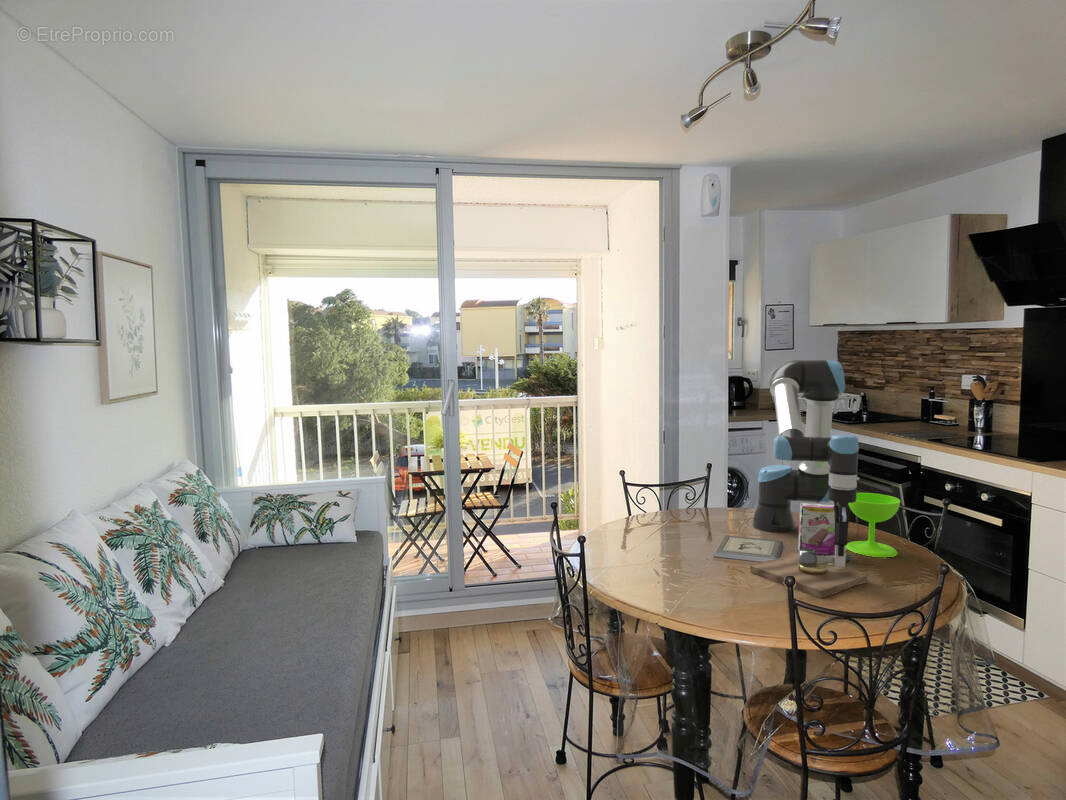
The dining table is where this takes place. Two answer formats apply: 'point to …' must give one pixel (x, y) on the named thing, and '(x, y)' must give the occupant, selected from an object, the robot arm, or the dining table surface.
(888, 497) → the wineglass
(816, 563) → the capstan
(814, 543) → the candy bar box
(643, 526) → the dining table surface
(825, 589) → the board
